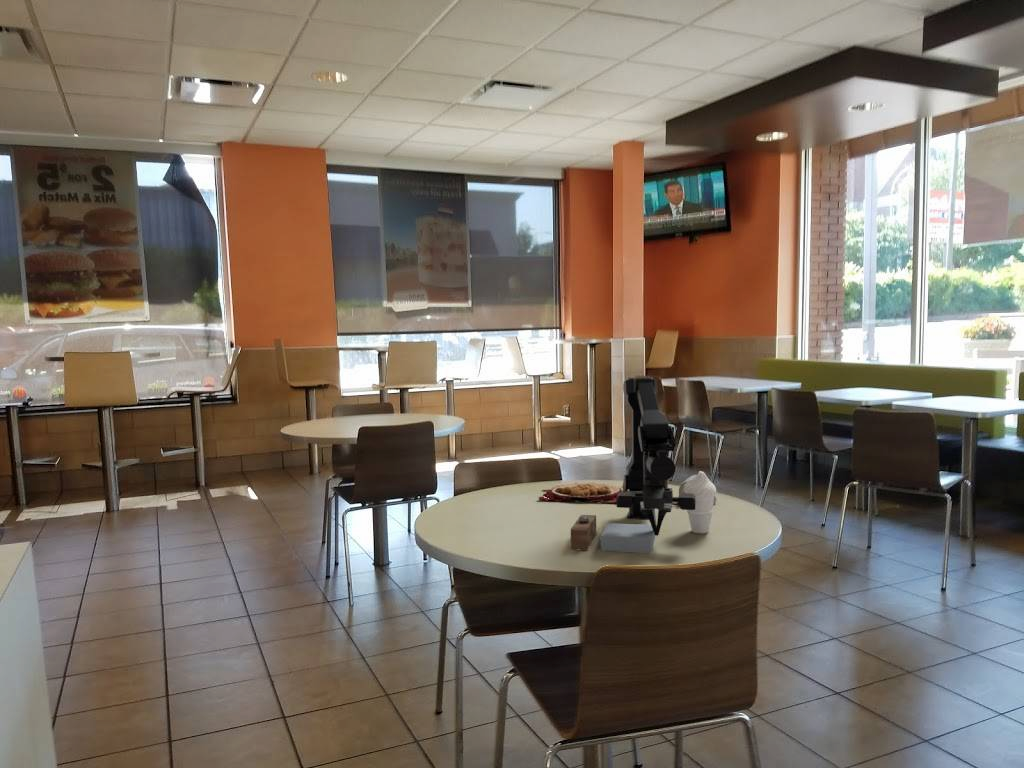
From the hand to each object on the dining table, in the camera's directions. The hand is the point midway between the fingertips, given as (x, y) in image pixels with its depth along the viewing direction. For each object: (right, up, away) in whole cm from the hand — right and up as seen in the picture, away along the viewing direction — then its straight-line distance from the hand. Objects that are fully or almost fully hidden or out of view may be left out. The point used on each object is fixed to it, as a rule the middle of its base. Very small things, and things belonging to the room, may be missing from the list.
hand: (656, 535), depth 178 cm
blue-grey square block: (-7, -3, +2) cm, 8 cm away
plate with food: (-12, 0, +57) cm, 59 cm away
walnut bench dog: (-17, -3, +5) cm, 18 cm away
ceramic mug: (+21, +1, +42) cm, 47 cm away
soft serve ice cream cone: (+14, -2, +11) cm, 17 cm away
